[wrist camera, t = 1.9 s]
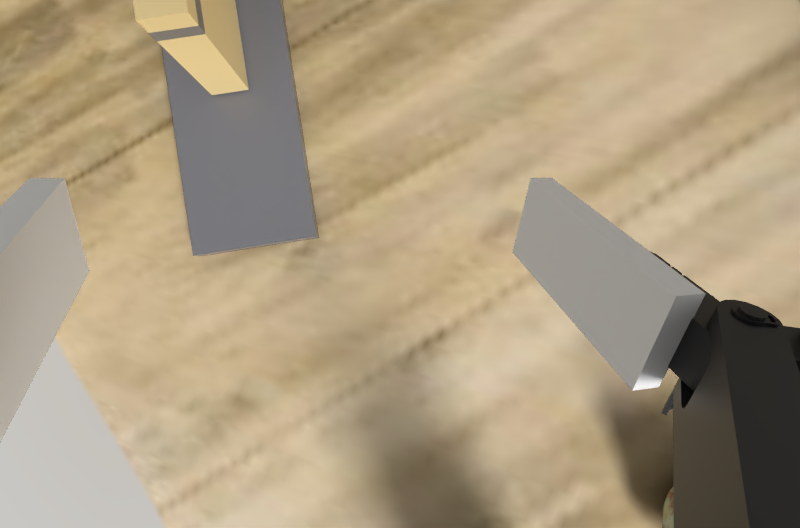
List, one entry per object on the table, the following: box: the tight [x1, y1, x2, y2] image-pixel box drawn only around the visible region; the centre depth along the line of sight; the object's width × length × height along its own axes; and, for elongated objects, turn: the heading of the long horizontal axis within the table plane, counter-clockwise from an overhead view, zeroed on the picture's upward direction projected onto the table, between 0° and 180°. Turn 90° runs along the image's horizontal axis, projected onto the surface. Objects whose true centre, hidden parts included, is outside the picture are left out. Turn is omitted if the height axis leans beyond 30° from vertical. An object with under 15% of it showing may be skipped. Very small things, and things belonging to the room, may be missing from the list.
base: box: [162, 0, 319, 256], centre depth 41 cm, size 36×10×2 cm, turn 9°
